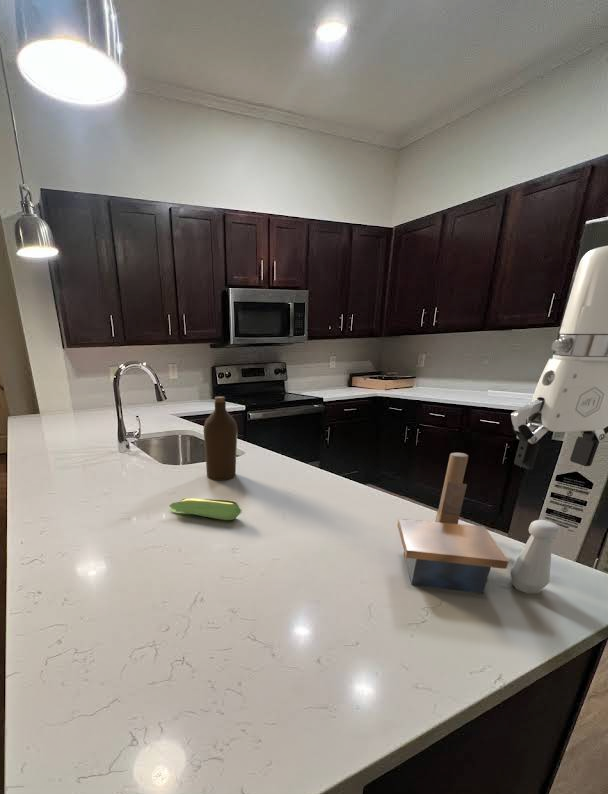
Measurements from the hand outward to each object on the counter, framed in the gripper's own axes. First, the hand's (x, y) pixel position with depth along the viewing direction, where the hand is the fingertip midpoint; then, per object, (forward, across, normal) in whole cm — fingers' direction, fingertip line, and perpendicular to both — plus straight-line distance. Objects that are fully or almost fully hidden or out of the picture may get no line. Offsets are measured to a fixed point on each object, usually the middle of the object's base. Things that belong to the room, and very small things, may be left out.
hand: (551, 465), depth 66 cm
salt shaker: (+24, +4, +1) cm, 24 cm away
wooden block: (+24, +1, +23) cm, 33 cm away
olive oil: (+24, -45, +72) cm, 88 cm away
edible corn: (+24, -53, +41) cm, 71 cm away
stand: (+24, -9, +8) cm, 26 cm away
